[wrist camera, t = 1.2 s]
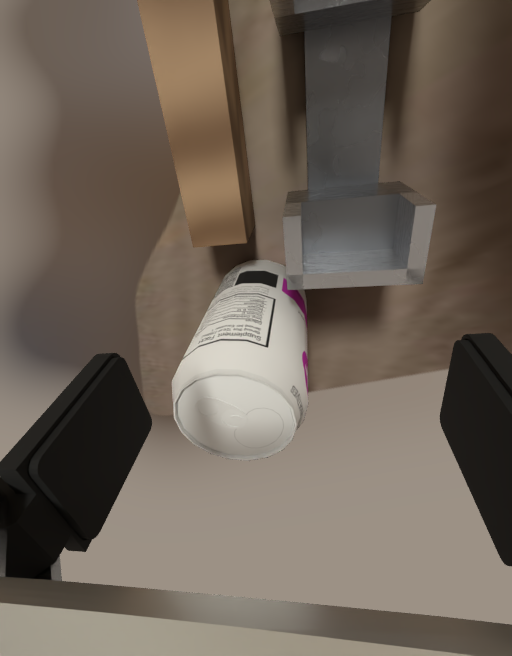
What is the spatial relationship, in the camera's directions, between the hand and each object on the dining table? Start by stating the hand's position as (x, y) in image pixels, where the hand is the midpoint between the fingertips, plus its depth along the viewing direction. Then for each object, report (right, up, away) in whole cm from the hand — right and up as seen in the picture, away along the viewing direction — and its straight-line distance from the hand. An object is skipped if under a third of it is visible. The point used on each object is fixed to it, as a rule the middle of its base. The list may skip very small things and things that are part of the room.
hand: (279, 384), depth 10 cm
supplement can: (0, +5, +21) cm, 22 cm away
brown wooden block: (-4, +16, +14) cm, 22 cm away
